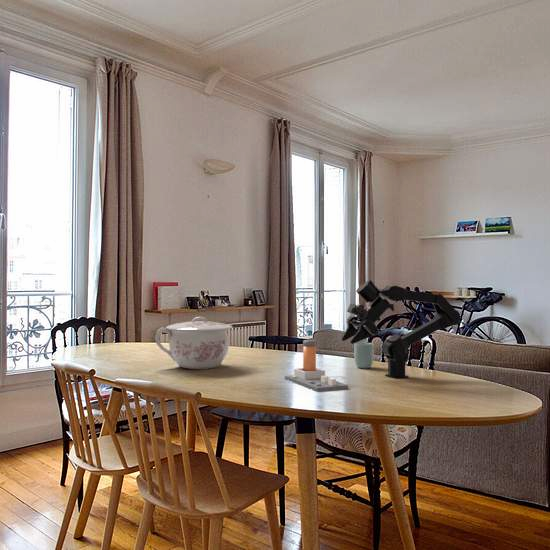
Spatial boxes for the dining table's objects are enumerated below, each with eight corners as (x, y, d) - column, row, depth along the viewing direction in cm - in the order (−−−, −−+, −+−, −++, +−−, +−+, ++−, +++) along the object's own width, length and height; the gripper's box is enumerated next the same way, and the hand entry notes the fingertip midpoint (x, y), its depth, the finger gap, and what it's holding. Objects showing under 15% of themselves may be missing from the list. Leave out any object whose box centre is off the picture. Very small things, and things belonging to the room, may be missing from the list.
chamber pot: (245, 365, 234) (245, 316, 234) (205, 375, 211) (205, 320, 211) (193, 359, 249) (193, 313, 249) (149, 368, 225) (150, 317, 225)
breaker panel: (348, 388, 187) (348, 377, 187) (316, 391, 182) (316, 380, 182) (313, 376, 209) (313, 366, 209) (284, 379, 204) (284, 368, 204)
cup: (351, 368, 228) (351, 343, 229) (357, 365, 235) (358, 342, 235) (369, 369, 225) (370, 345, 225) (375, 367, 232) (376, 343, 232)
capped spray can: (318, 376, 203) (318, 340, 203) (310, 378, 199) (310, 341, 199) (308, 375, 206) (308, 339, 206) (300, 376, 202) (300, 340, 202)
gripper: (351, 295, 216) (324, 324, 214) (370, 297, 198) (340, 328, 196) (370, 315, 218) (343, 344, 216) (390, 319, 200) (361, 350, 197)
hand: (346, 341), depth 206 cm, fingers open, 9 cm apart
